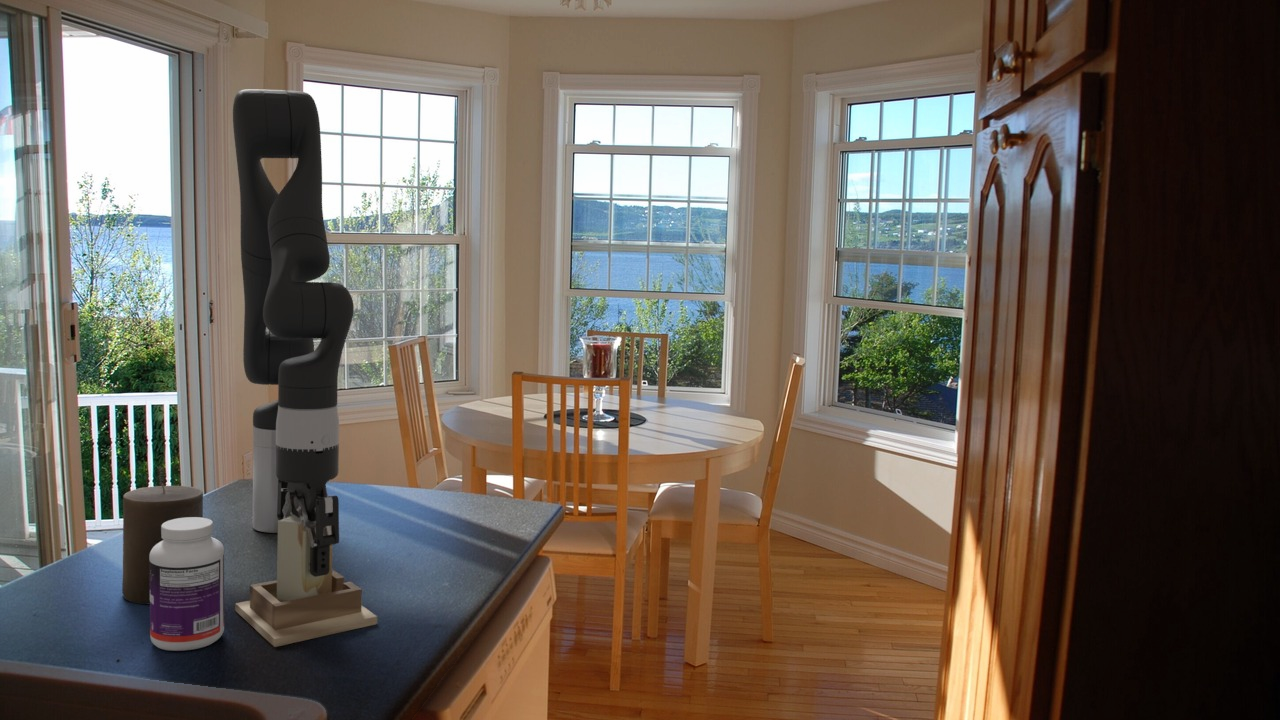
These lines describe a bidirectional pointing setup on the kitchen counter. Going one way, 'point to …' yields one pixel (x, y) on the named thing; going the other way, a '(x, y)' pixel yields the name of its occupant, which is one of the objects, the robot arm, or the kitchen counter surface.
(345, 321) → the robot arm
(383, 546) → the kitchen counter surface
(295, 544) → the skincare box
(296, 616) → the frame
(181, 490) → the pillar candle
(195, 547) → the pill bottle
